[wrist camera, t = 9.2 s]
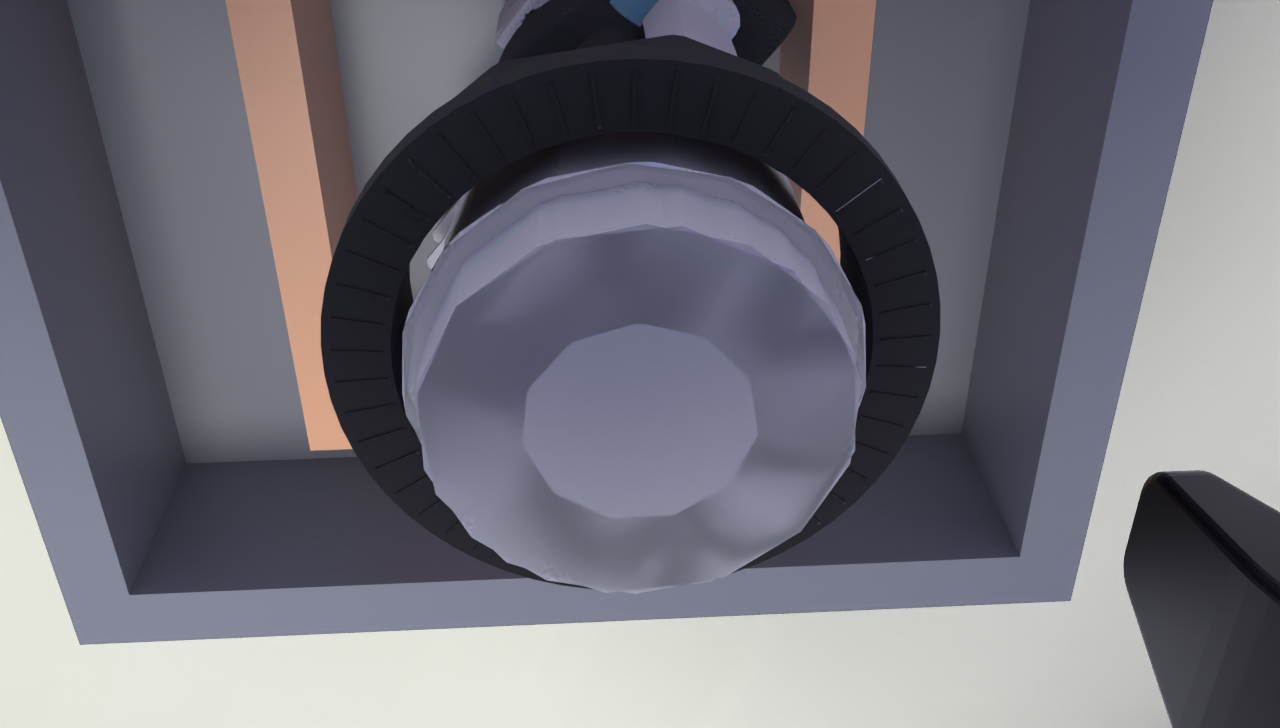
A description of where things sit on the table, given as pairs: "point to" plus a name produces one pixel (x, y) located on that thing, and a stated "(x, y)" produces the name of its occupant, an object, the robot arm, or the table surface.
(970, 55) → the walled box
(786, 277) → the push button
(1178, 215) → the table surface
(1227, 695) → the robot arm
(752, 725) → the table surface
